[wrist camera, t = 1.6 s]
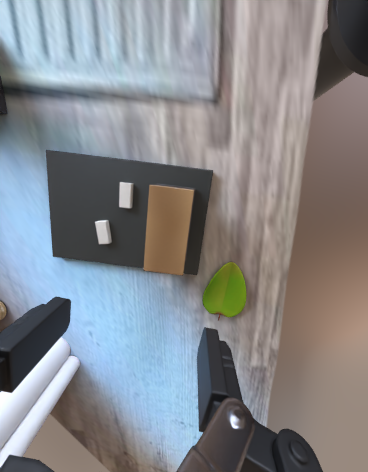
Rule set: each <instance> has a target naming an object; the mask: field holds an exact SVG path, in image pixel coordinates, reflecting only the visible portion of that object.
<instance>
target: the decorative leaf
mask: <svg viewBox="0 0 368 472" xmlns="http://www.w3.org/2000/svg"><path fill="white" fill-rule="evenodd" d="M245 303H246V286H245V281H244V277H243V275H242V272H241V270H240V269H239V267H238V266H237V265H236V264H235V263H233V262H230V263H227V264H225V265H224V266H223V267H222V268H221V269H220V270H219V271H218V272H217V273H216V274H215V276H214V277H213V278H212V280H211V281H210V283H209V284H208V286H207V288H206V290H205V292H204V295H203V305H204V307H205V309H206V310H207V311H208V312H209V313H211V314H219V318H220V315H221V314H222V315H224V316H226V317H233V316H236V315H237V314H239V313H240V312H241V311H242V310H243V308H244V306H245ZM219 318H218V320H219Z"/></svg>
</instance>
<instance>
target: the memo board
mask: <svg viewBox="0 0 368 472" xmlns="http://www.w3.org/2000/svg"><path fill="white" fill-rule="evenodd" d="M46 161H47V176H48V191H49V205H50V220H51V234H52V249H53V257H61V258H68V259H76V260H84V261H92V262H100V263H107V264H115V265H123V266H131V267H138V268H144V256H145V242H146V227H147V213H148V198H149V185H156V184H165V185H173V186H181V187H189V188H195V195H194V203H193V210H192V218H191V225H190V233H189V241H188V248H187V256H186V261H185V264H184V271H183V273H185V274H193V275H197V273H198V266H199V260H200V253H201V247H202V240H203V234H204V227H205V221H206V214H207V207H208V201H209V194H210V188H211V181H212V175H213V170H206V169H198V168H189V167H181V166H173V165H165V164H157V163H149V162H141V161H133V160H125V159H117V158H109V157H101V156H92V155H84V154H76V153H68V152H60V151H52V150H46ZM120 182H124V183H132V184H133V203H132V208H123V207H119V195H120ZM105 220H108V221H109V227H110V233H111V239H112V242H111V243H109V244H99V241H98V236H97V230H96V225H95V222H97V221H105Z"/></svg>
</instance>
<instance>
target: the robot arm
mask: <svg viewBox="0 0 368 472" xmlns="http://www.w3.org/2000/svg"><path fill="white" fill-rule="evenodd" d="M70 310H71V301H70V299H65V298H60V297H54V298H53V299H52V300H50V301H49V302H48V303H47V304H41V305H39V306H37V307H35V308H32V309H31V310H29V311H28V312H27V313H25V314H24V315H23V316H22V317H20V318H19V319H17V320H16V321H15V322H14V323H12V324H11V325H10V326H8V327H7V328H6V329H4V330H3V331H2V332H0V392H1V391H3V392H8V393H12V392H13V391H14V390H15V389H16V388H17V387H18V386H19V384H20V383H21V382H22V381H23V380H24V379H25V378H26V376H27V375H28V374H29V373H30V372H31V371H32V370H33V368H34V367H35V366H36V365H37V364H38V363H39V362H40V360H41V359H42V358H43V357H44V356H45V355H46V354H47V352H48V351H49V350H50V349H51V348H52V347H53V346H54V344H55V343H56V342H57V341H58V340H59V339H60V338H61V336H62V335H63V334H64V333H65V332H66V330H67V328H68V326H69V323H70ZM197 373H198V409H199V431H200V432H203V434H202V436H201V437H200V439H199V441H198V442H197V444H196V445H195V446H193V447H192V448H191V449H190V450H189V452H188V454H187V455H186V457H185V458H184V460H183V462H182V463H181V465H180V466H179V468H178V470H177V471H176V472H323V471H322V469H321V467H320V464H319V461H318V459H317V457H316V455H315V453H314V451H313V449H312V448H311V447H310V445H309V444H308V443H307V442H306V441H305V439H304V438H303V437H301V436H300V435H299V434H297V433H296V432H294V431H292V430H290V429H282V430H281V431H280V432H279V433H278V434H276V433H275V432H273V431H271V430H270V429H268V428H266V427H265V426H263V425H261V424H260V423H258V422H257V421H256V420H255V419H254V418H253V417H252V414H251V412H250V411H249V409H248V408H247V407H246V405H245V404H244V403H243V400H242V396H241V392H240V387H239V383H238V379H237V375H236V370H235V366H234V362H233V358H232V353H231V350H230V348H229V346H228V345H227V343H226V342H225V341H220V340H219V335H218V331H217V330H215V329H210V328H206V327H205V328H204V330H203V333H202V337H201V341H200V344H199V348H198V354H197ZM0 472H54V471H53V470H51V469H50V468H49V467H48V466H46V465H45V464H43V463H42V462H41V461H39V460H36V459H30V458H25V457H20V456H15V455H10V454H9V456H8V457H7V459H6V460H5V462H4V463H3V465H2V466H1V467H0Z"/></svg>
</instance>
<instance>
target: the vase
mask: <svg viewBox="0 0 368 472" xmlns="http://www.w3.org/2000/svg"><path fill="white" fill-rule="evenodd" d="M70 350H71V349H70V346H69V344H68V343H67V341H66V340H65V339H63V338H62V337H61V338H60V339H59V340H58V341H57V342H56V343H55V344H54V346H53V347H52V348H51V349H50V350H49V351H48V352H47V354H46V355H45V356H44V357H43V358H42V359H41V360H40V362H39V363H38V364H37V365H36V366H35V367H34V368H33V370H32V371H31V372H30V373H29V374H28V375H27V376H26V378H25V379H24V380H23V381H22V382H21V383H20V384H19V386H18V387H17V388H16V389H15V390H14V391H13V392H12V393H8V392H3V391H1V392H0V467H1V466H2V465H3V463H4V462H5V460H6V459H7V457H8V456H9V454H10V455H15V456H20V457H23V455H24V454H25V452H26V450H27V449H28V447H29V445H30V444H31V442H32V441H33V439H34V438H35V436H36V434H37V433H38V431H39V430H40V428H41V427H42V425H43V423H44V422H45V420H46V419H47V417H48V415H49V414H50V412H51V411H52V409H53V408H54V406H55V404H56V403H57V401H58V400H59V398H60V396H61V395H62V393H63V392H64V390H65V388H66V387H67V385H68V384H69V382H70V380H71V379H72V377H73V376H74V374H75V373H76V371H77V369H78V368H79V366H80V361H79V359H78V358H77V357H75V356H69V355H70Z"/></svg>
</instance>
